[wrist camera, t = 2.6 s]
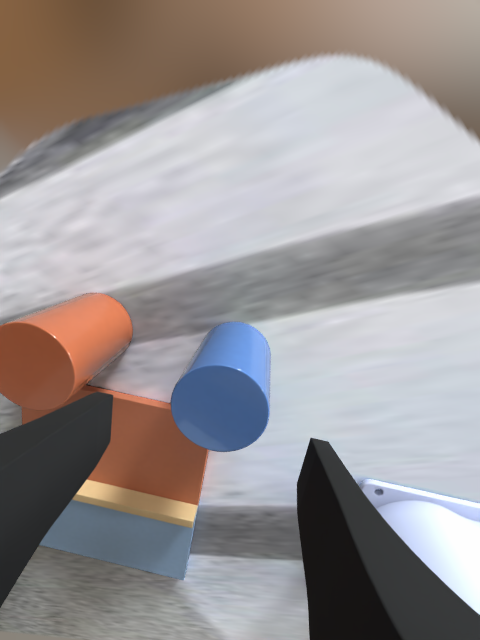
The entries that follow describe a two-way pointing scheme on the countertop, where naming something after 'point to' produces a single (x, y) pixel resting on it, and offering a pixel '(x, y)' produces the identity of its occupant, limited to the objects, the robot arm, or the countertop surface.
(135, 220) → the countertop surface
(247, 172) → the countertop surface
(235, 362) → the cylinder
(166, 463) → the board
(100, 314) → the orange cylinder
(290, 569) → the countertop surface
